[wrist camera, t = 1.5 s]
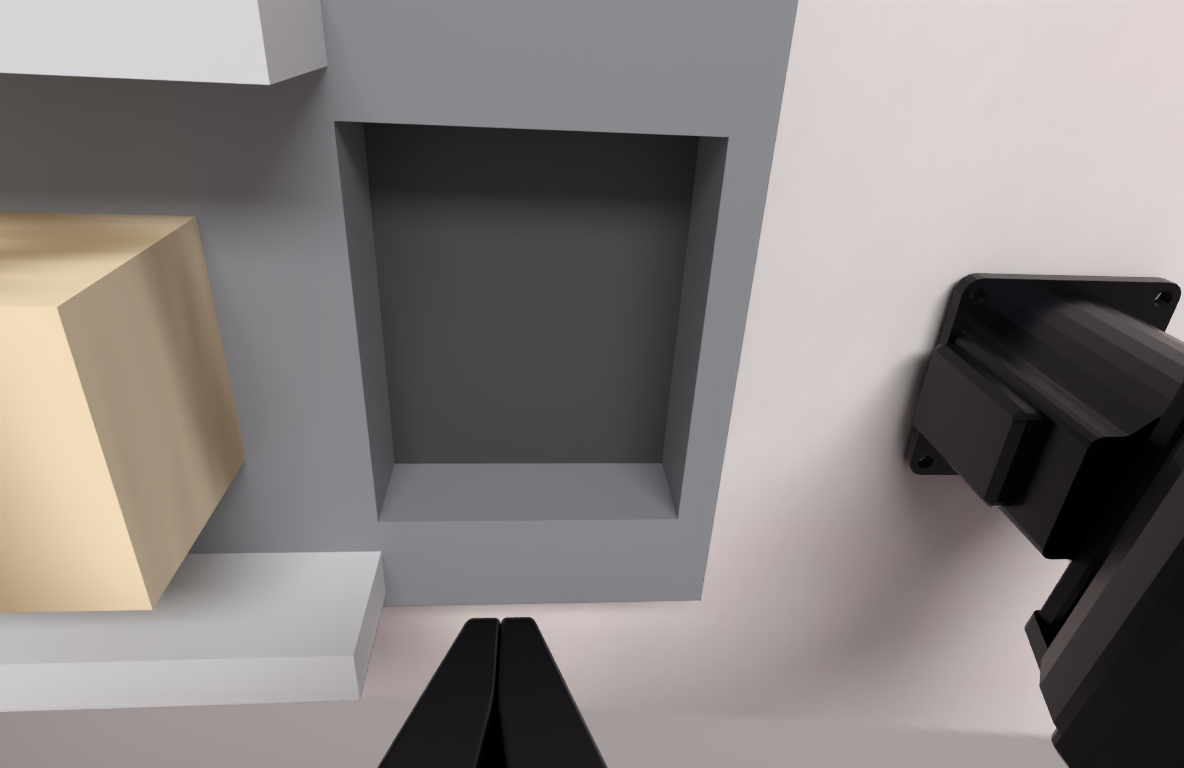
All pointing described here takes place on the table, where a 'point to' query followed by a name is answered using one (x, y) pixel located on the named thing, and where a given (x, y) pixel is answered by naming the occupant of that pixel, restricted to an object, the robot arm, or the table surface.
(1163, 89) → the table surface
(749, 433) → the table surface
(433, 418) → the stepped grey tray
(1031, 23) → the table surface
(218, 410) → the maple block
